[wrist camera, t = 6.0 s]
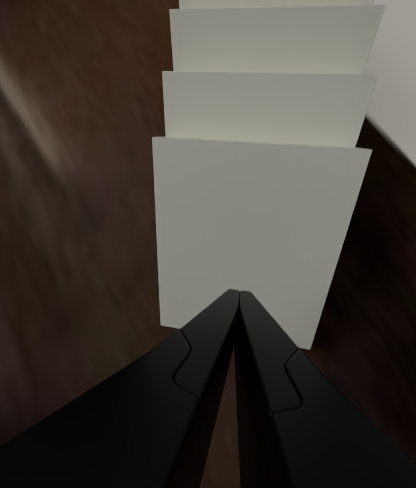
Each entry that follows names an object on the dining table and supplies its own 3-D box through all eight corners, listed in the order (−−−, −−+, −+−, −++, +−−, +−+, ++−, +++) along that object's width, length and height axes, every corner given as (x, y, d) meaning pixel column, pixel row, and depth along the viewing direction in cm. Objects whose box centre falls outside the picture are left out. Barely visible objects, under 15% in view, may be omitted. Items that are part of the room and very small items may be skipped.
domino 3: (312, 227, 18) (385, 5, 11) (183, 214, 20) (169, 9, 12) (308, 213, 20) (370, 10, 12) (189, 202, 21) (179, 14, 14)
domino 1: (310, 349, 16) (372, 149, 10) (160, 325, 17) (152, 137, 12) (304, 327, 17) (354, 147, 12) (169, 306, 19) (165, 136, 14)
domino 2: (311, 284, 17) (378, 74, 11) (173, 266, 18) (162, 71, 12) (306, 267, 19) (361, 78, 12) (180, 252, 20) (173, 75, 14)
